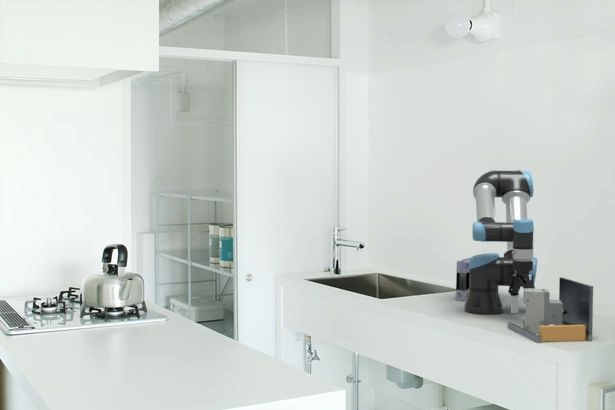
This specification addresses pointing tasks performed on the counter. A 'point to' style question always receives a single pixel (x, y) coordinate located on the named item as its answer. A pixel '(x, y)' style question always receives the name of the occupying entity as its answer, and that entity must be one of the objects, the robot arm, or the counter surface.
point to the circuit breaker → (541, 310)
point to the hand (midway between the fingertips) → (522, 316)
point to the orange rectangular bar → (562, 333)
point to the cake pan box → (462, 279)
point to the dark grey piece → (569, 308)
